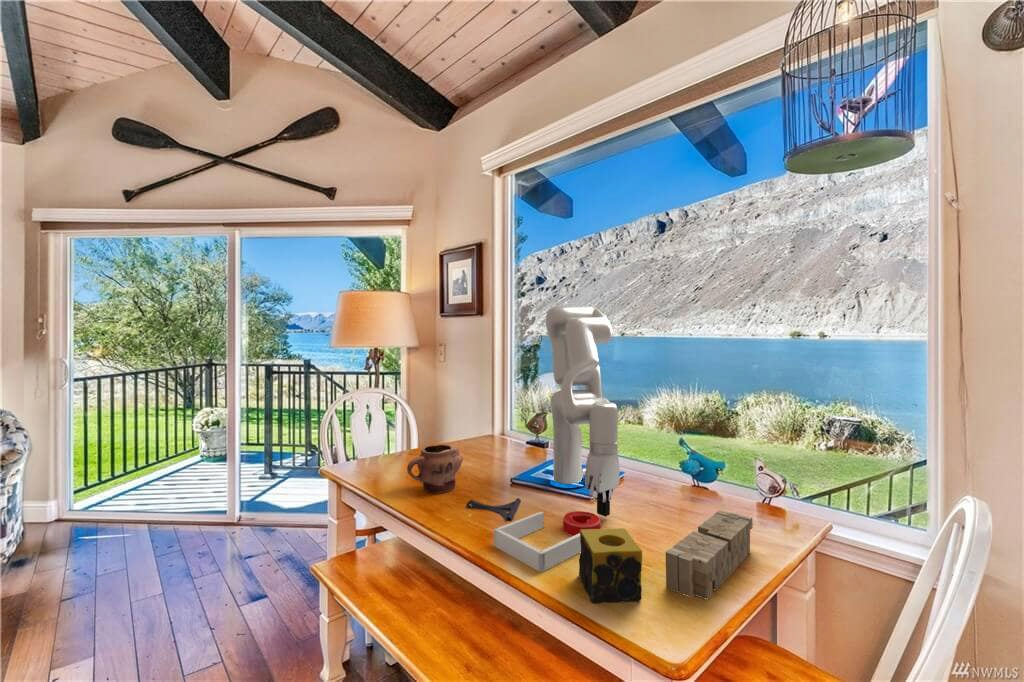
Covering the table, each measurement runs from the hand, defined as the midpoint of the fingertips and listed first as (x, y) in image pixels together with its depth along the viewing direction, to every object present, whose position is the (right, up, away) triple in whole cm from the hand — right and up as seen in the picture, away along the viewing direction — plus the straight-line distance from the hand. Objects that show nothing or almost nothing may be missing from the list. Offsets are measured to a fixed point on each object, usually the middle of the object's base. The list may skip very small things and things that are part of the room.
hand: (603, 514), depth 123 cm
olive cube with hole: (-6, -2, -33) cm, 34 cm away
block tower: (+19, -2, -25) cm, 31 cm away
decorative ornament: (-7, -2, -6) cm, 9 cm away
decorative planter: (-50, -1, +23) cm, 55 cm away
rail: (-18, -2, -16) cm, 24 cm away
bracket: (-31, -2, +7) cm, 32 cm away
